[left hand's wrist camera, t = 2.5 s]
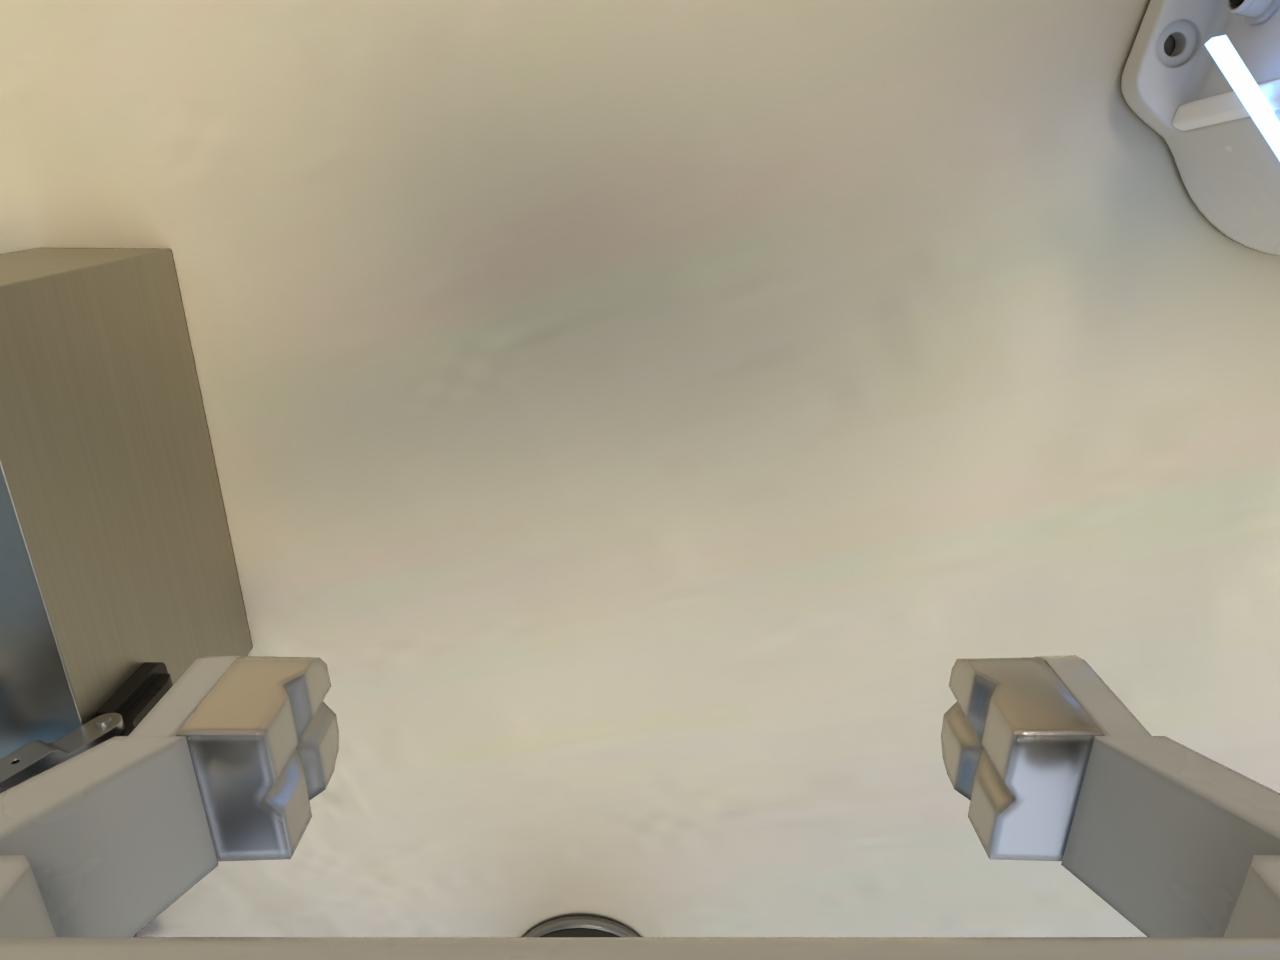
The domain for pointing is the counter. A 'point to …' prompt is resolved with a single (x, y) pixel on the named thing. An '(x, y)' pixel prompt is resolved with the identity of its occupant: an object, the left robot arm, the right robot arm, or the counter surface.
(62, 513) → the box
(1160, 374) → the counter surface
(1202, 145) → the left robot arm
